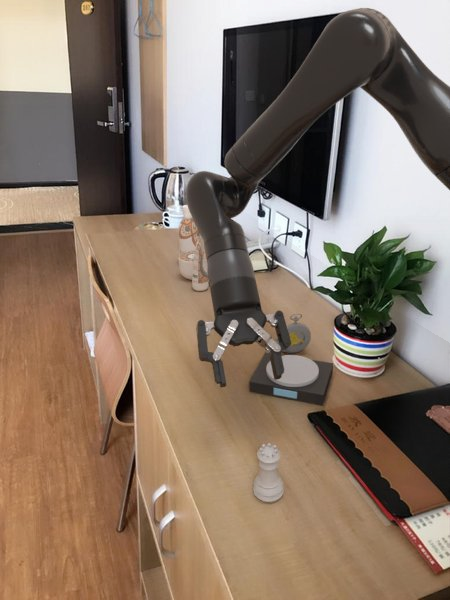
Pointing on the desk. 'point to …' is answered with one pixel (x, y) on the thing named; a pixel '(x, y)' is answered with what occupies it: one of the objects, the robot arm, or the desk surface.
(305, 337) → the pocket watch
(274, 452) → the rook chess piece
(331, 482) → the desk surface
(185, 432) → the desk surface
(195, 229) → the cosmetic set
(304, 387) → the scale
